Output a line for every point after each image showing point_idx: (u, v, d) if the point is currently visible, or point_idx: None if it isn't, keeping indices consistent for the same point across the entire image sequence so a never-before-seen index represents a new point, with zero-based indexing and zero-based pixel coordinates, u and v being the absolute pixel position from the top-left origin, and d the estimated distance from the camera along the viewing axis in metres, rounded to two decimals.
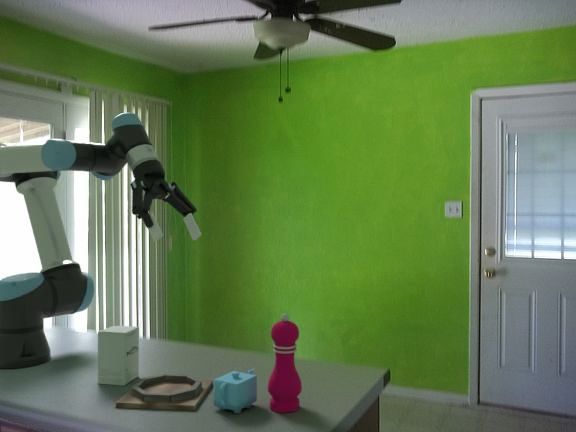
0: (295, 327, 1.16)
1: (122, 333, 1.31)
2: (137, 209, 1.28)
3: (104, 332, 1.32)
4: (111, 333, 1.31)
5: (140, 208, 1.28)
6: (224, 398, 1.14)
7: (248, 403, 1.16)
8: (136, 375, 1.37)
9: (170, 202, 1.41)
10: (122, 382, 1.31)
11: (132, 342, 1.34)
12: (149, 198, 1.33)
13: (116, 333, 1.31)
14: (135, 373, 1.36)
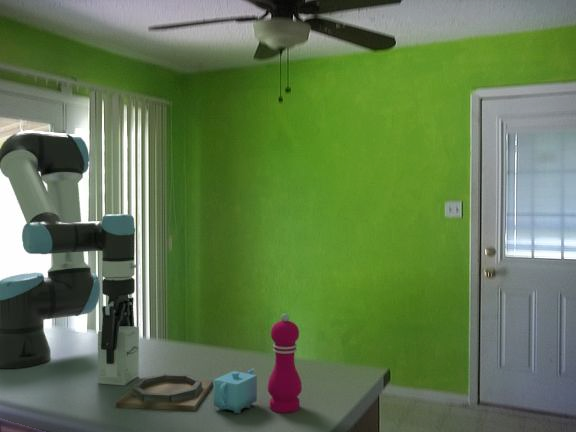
0: (295, 327, 1.16)
1: (122, 333, 1.31)
2: (108, 348, 1.27)
3: None
4: None
5: (112, 348, 1.28)
6: (224, 398, 1.14)
7: (248, 403, 1.16)
8: (136, 375, 1.37)
9: None
10: (122, 382, 1.31)
11: (132, 342, 1.34)
12: (117, 329, 1.31)
13: None
14: (135, 373, 1.36)
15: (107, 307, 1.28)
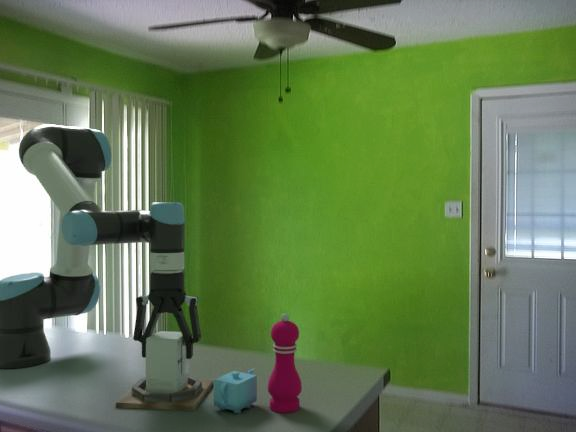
0: (295, 327, 1.16)
1: (173, 340, 1.21)
2: None
3: (153, 338, 1.21)
4: (161, 340, 1.21)
5: (135, 339, 1.24)
6: (224, 398, 1.14)
7: (248, 403, 1.16)
8: (185, 385, 1.26)
9: None
10: None
11: None
12: (149, 324, 1.23)
13: (166, 340, 1.21)
14: (185, 382, 1.26)
15: None
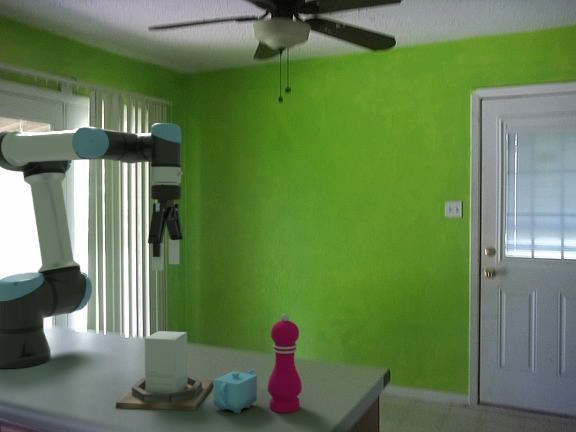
0: (295, 327, 1.16)
1: (185, 333, 1.26)
2: (155, 240, 1.32)
3: (177, 338, 1.22)
4: (181, 337, 1.24)
5: (158, 240, 1.33)
6: (224, 398, 1.14)
7: (248, 403, 1.16)
8: None
9: (168, 223, 1.46)
10: (186, 384, 1.27)
11: None
12: (164, 227, 1.37)
13: (183, 335, 1.25)
14: None
15: (158, 203, 1.36)
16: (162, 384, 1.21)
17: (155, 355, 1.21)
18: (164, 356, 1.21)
